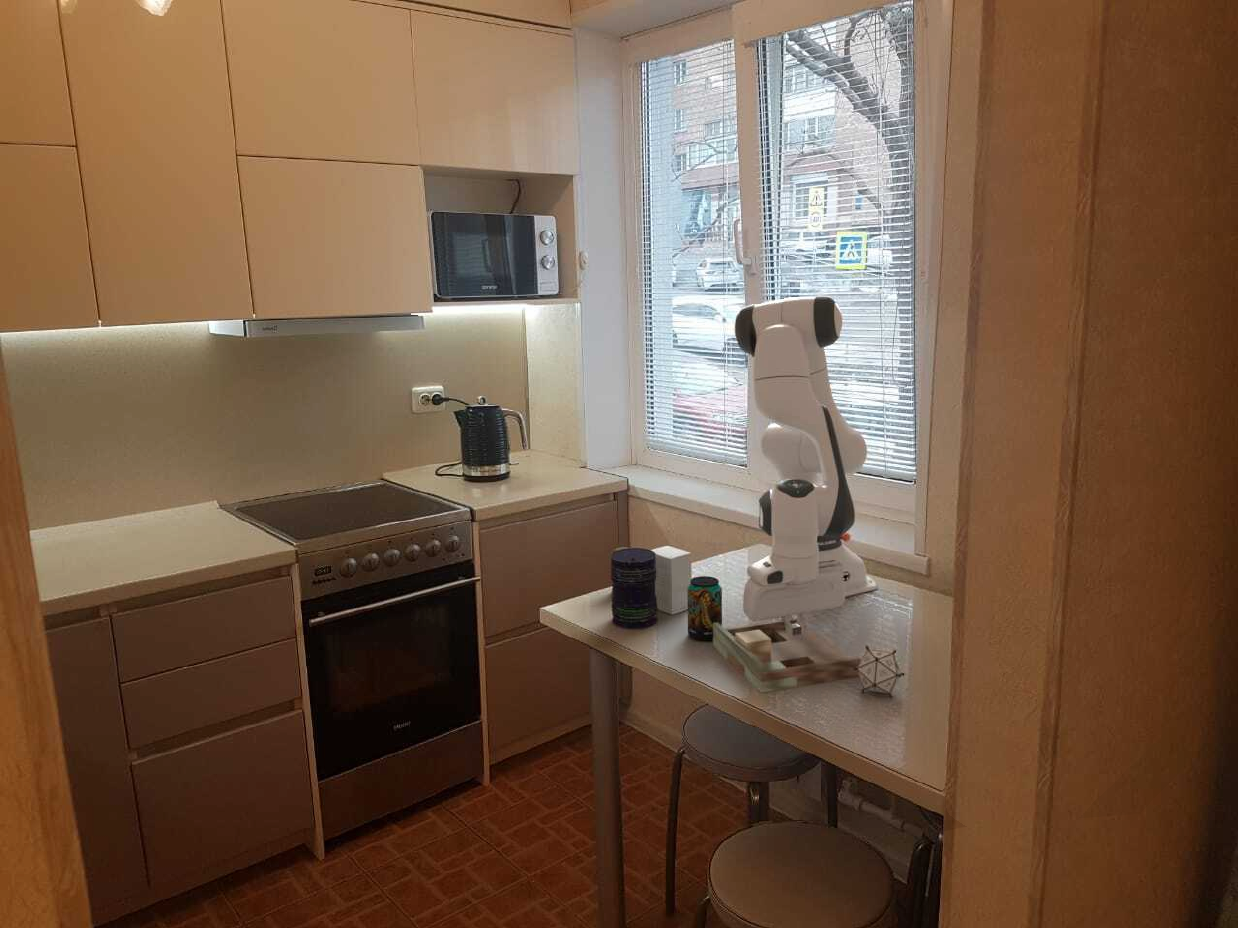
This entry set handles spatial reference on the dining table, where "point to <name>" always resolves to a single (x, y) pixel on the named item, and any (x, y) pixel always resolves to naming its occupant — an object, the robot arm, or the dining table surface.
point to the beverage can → (704, 607)
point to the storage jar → (634, 588)
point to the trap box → (784, 657)
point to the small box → (672, 579)
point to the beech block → (756, 643)
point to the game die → (878, 671)
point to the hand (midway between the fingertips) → (794, 634)
